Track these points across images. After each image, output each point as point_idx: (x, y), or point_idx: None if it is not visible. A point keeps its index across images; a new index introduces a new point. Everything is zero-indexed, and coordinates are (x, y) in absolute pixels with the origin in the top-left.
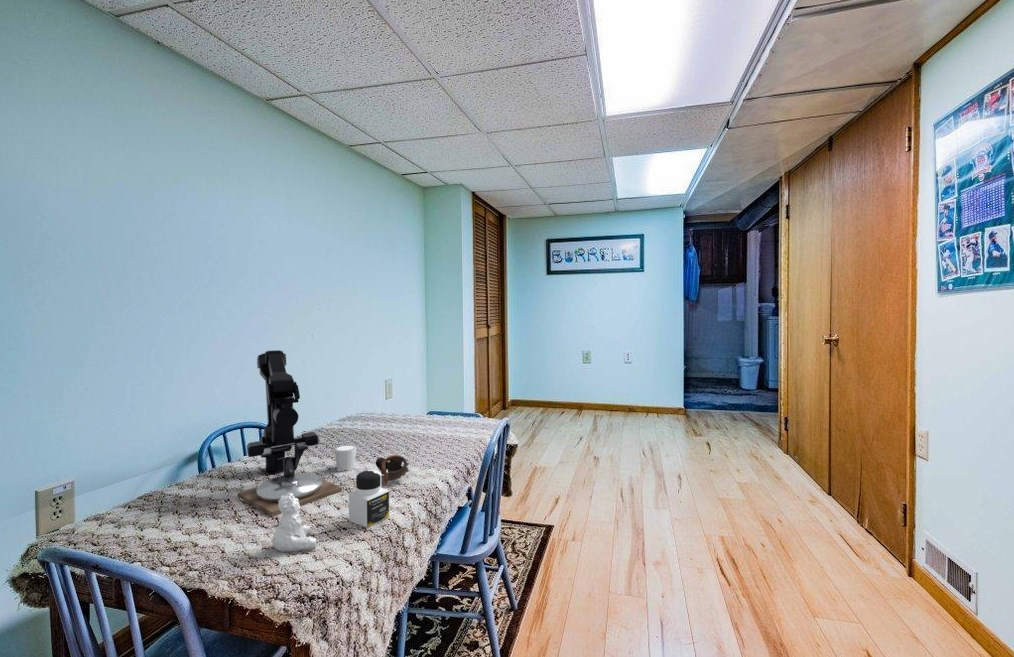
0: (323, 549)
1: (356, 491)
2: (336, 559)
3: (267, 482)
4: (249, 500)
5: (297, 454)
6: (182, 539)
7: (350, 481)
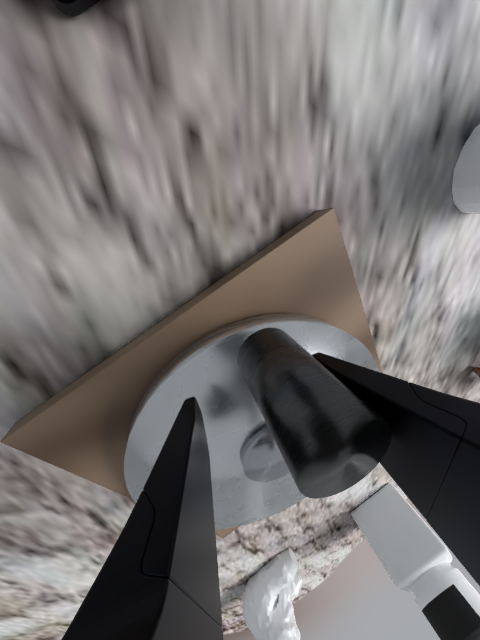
0: (303, 568)
1: (412, 582)
2: (313, 576)
3: (161, 427)
4: (120, 490)
5: (441, 533)
6: (17, 629)
7: (427, 336)
